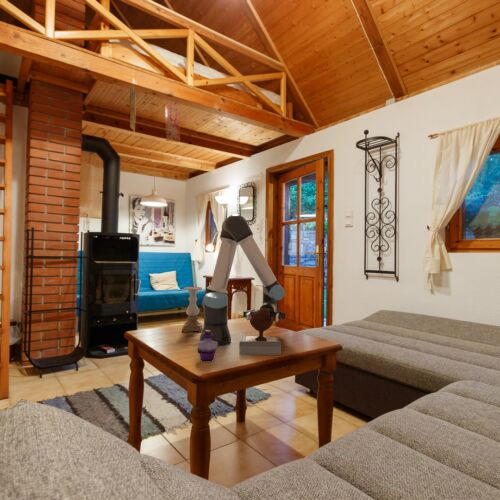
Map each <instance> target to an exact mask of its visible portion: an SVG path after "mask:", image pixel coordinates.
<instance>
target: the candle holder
mask: <svg viewBox="0 0 500 500" xmlns="http://www.w3.org/2000/svg"><path fill="white" fill-rule="evenodd" d="M183 290H184V291H188V293H189V297H188V298H187V299H188V300H187V301H189V305H188V306H187V308H186V310H185V311H186V312H185V313H186V314H187V317H186V319H187V321H185V322H184V324H183V326H182V327H181V332H182V331H199V332H198V333H202V330H203V324H202V322H199V321H198V319H199V316H198V315H199V313H200V309H199V307H198V305H197V301H198V297H197V294H198V293H199V291H201V290H203V287H202V286H201V287H200V286H186V287H183Z"/></svg>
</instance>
